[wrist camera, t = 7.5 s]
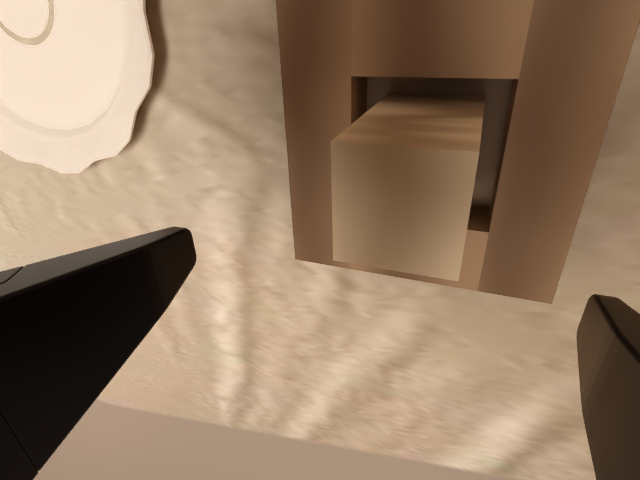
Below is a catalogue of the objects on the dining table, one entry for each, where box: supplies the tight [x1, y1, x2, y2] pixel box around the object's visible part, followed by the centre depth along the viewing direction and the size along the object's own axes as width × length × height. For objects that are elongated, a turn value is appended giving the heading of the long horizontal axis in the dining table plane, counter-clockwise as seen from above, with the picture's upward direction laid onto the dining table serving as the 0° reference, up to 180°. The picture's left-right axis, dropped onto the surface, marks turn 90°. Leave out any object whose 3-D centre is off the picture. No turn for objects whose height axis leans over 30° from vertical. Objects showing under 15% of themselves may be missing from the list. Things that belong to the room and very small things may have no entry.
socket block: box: [276, 0, 640, 304], centre depth 18 cm, size 12×12×3 cm
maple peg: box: [331, 93, 485, 282], centre depth 15 cm, size 4×4×8 cm
